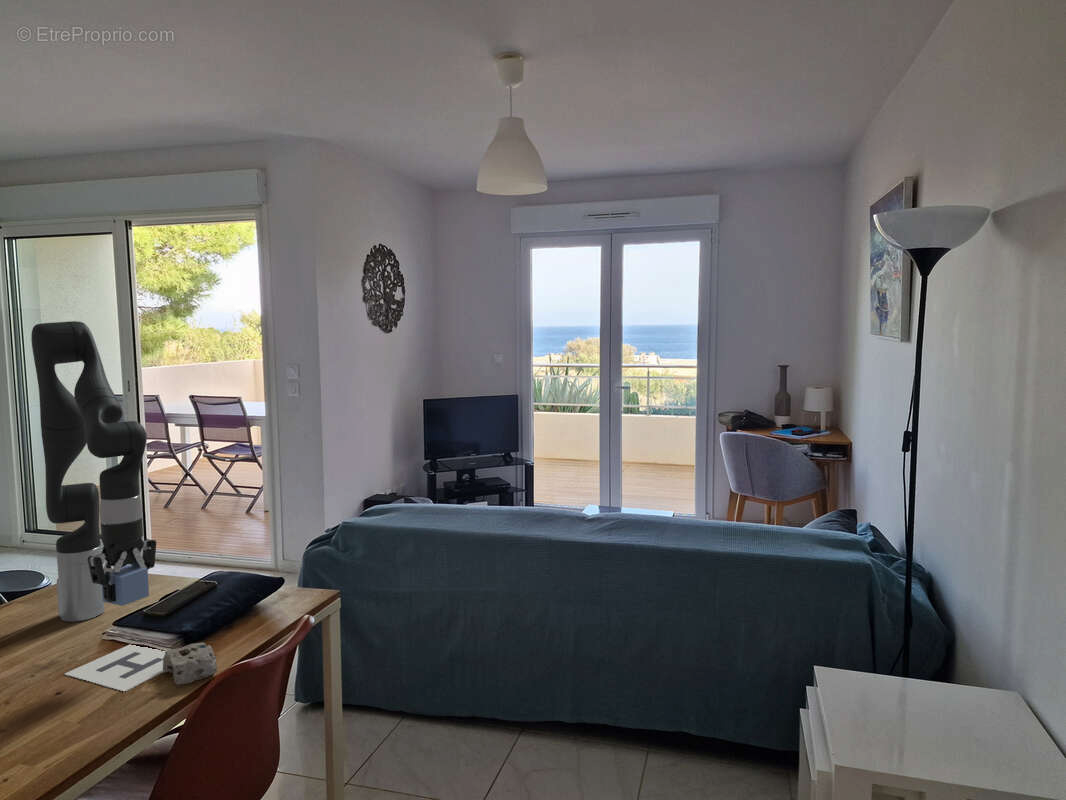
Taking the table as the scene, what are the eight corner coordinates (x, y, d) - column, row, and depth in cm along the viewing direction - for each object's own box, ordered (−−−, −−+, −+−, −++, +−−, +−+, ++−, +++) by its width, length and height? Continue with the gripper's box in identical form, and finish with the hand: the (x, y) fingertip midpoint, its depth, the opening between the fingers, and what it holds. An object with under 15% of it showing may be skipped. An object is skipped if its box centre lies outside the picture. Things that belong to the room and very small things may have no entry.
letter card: (64, 674, 142) (64, 673, 142) (135, 642, 157) (135, 641, 157) (124, 692, 135) (124, 690, 135) (192, 657, 150) (192, 656, 150)
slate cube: (102, 601, 143) (101, 573, 143) (129, 591, 149) (128, 564, 148) (122, 605, 141) (120, 577, 140) (149, 595, 146) (147, 568, 146)
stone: (159, 649, 146) (211, 635, 151) (164, 676, 146) (215, 661, 151) (160, 664, 135) (216, 649, 139) (165, 694, 134) (220, 677, 139)
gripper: (140, 507, 151) (144, 582, 153) (75, 524, 138) (80, 605, 140) (164, 511, 148) (168, 586, 150) (100, 528, 135) (105, 611, 137)
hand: (125, 595), depth 145 cm, fingers closed on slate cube, 6 cm apart
